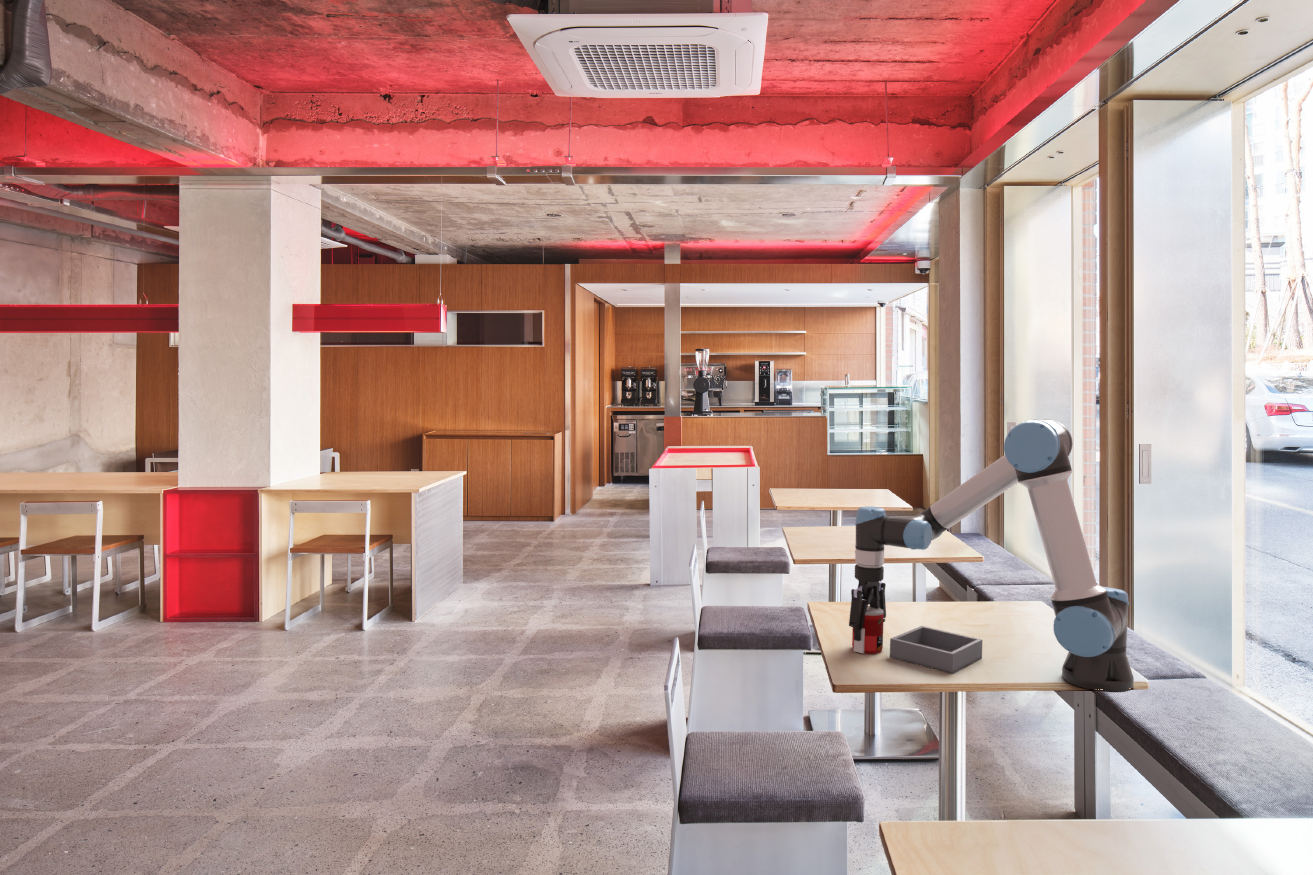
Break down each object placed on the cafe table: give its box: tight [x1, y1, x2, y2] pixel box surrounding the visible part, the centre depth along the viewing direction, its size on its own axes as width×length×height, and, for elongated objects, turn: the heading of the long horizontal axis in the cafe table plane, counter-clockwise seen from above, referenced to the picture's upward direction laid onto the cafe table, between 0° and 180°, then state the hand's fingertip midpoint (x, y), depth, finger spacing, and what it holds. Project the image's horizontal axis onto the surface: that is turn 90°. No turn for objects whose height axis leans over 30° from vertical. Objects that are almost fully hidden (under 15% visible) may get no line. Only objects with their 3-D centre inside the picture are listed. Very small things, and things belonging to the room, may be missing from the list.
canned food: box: [851, 605, 885, 655], centre depth 216 cm, size 8×8×11 cm
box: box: [889, 625, 983, 675], centre depth 210 cm, size 17×17×5 cm
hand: (867, 648), depth 217 cm, fingers closed on canned food, 8 cm apart
